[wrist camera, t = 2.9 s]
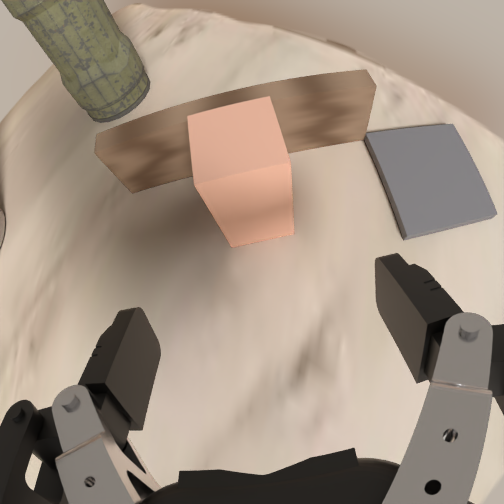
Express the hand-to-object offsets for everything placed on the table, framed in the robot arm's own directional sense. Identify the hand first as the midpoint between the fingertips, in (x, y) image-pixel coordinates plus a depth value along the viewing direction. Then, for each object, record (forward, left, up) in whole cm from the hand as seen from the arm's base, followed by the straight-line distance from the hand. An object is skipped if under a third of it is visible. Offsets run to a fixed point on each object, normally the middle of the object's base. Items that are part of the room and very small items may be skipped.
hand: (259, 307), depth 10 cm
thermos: (-31, +11, -13) cm, 35 cm away
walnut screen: (-11, +11, -13) cm, 20 cm away
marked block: (-7, +7, -13) cm, 16 cm away
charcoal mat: (+4, +18, -13) cm, 23 cm away
